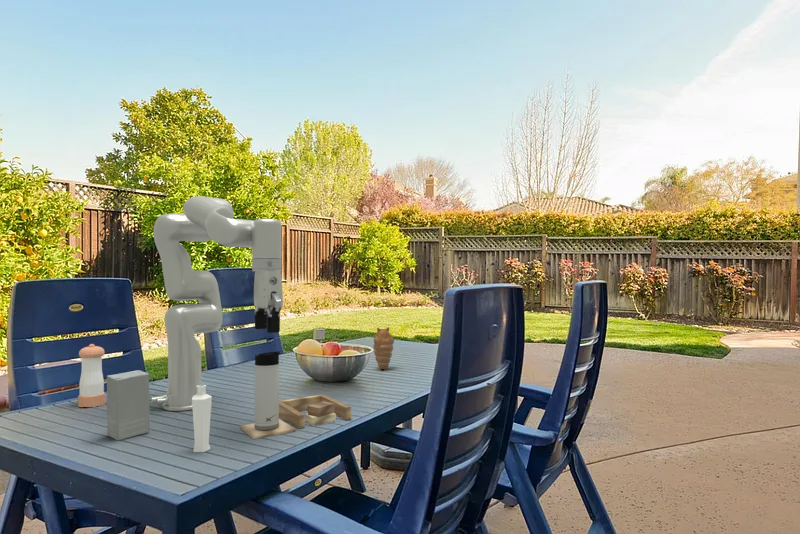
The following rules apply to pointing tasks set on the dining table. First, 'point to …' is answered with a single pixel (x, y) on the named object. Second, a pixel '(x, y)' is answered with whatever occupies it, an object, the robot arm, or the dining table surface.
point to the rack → (296, 418)
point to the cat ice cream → (383, 347)
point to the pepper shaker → (91, 377)
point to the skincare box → (127, 404)
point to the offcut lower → (320, 419)
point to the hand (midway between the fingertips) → (266, 330)
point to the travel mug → (267, 391)
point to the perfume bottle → (201, 418)
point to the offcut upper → (320, 409)
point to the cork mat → (256, 433)
